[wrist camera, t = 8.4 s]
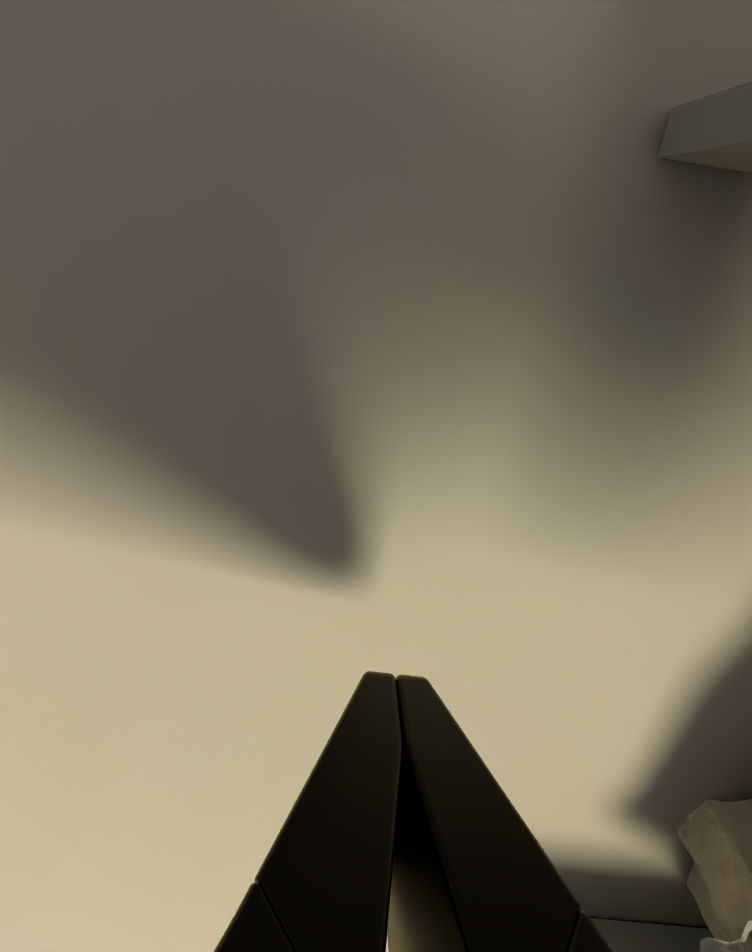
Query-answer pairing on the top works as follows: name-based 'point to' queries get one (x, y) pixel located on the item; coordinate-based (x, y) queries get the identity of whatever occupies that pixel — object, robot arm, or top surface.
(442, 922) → the robot arm
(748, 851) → the egg carton
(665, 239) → the top surface
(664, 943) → the box
